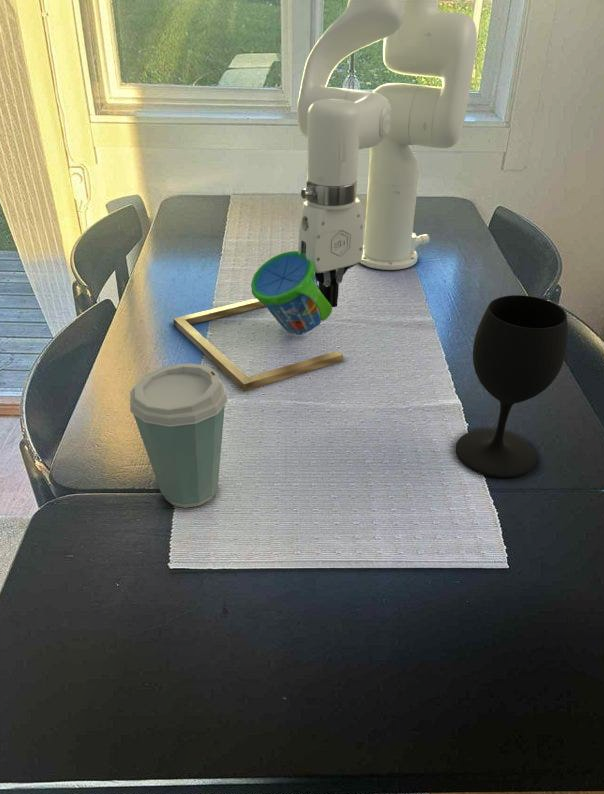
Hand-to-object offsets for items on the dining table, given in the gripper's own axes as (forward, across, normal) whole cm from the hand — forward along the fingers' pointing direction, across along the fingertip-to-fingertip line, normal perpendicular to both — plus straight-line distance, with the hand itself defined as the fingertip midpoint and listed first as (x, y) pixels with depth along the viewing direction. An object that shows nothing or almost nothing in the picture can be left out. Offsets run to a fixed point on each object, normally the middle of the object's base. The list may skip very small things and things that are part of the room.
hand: (328, 304), depth 118 cm
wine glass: (+3, -3, -43) cm, 43 cm away
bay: (+3, -13, 0) cm, 14 cm away
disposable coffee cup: (+3, -40, -28) cm, 49 cm away
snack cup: (+2, -4, 0) cm, 5 cm away
